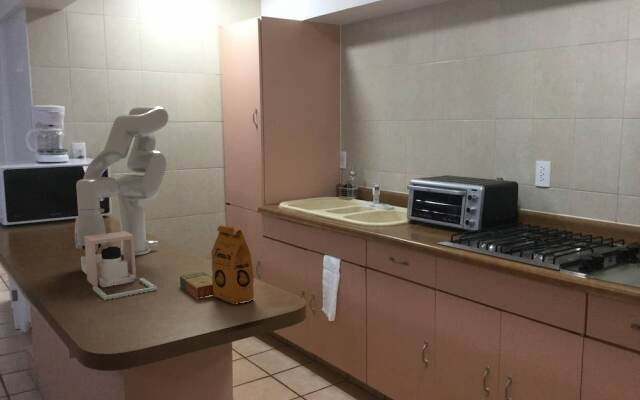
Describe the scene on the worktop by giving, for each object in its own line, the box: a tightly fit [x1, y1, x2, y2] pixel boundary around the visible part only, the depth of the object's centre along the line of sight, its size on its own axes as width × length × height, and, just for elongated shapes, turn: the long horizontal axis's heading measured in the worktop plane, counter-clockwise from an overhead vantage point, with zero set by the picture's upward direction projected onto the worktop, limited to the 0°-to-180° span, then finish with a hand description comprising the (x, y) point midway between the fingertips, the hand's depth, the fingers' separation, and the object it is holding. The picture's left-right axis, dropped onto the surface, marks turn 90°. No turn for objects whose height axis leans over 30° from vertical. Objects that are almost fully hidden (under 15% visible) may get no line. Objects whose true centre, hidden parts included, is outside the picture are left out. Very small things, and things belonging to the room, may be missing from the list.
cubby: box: [84, 231, 137, 287], centre depth 189 cm, size 14×9×15 cm, turn 126°
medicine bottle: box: [96, 246, 128, 281], centre depth 187 cm, size 7×7×12 cm
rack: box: [80, 253, 135, 288], centre depth 194 cm, size 10×26×5 cm, turn 36°
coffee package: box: [210, 225, 255, 305], centre depth 167 cm, size 10×12×22 cm
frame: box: [92, 277, 158, 301], centre depth 179 cm, size 16×13×1 cm
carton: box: [179, 271, 213, 298], centre depth 177 cm, size 8×16×4 cm, turn 32°
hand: (92, 262), depth 208 cm, fingers closed
